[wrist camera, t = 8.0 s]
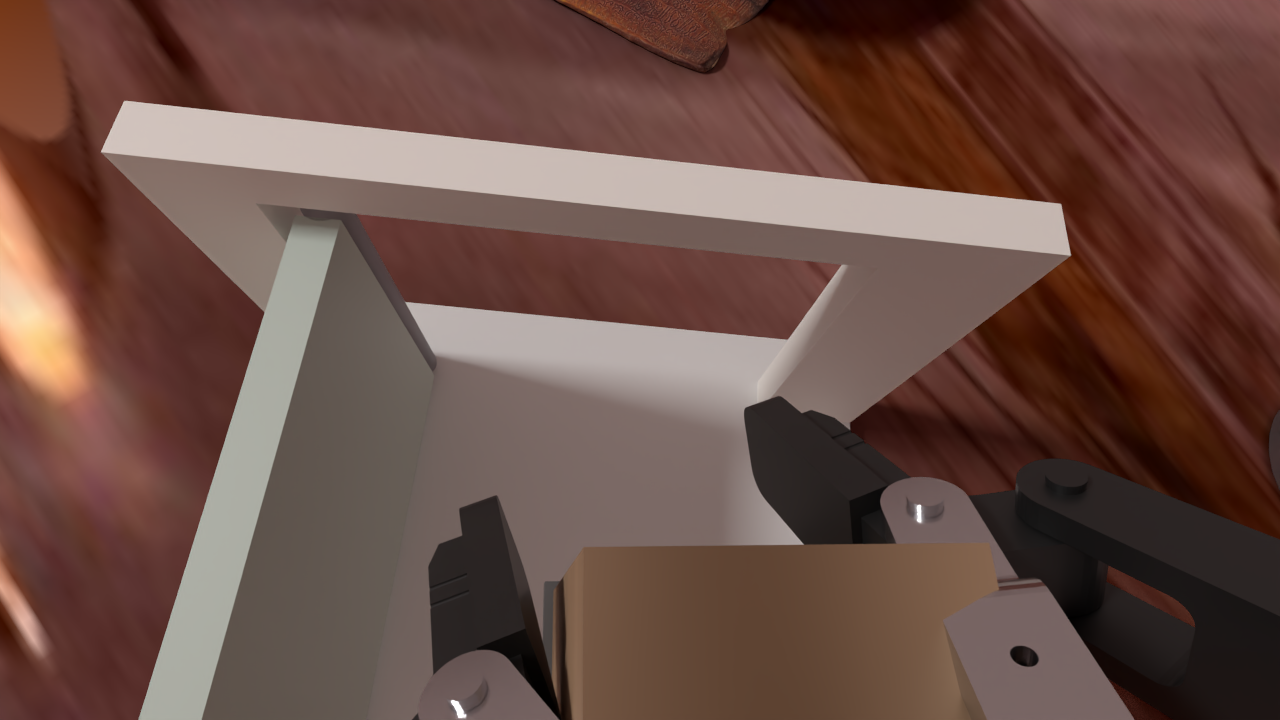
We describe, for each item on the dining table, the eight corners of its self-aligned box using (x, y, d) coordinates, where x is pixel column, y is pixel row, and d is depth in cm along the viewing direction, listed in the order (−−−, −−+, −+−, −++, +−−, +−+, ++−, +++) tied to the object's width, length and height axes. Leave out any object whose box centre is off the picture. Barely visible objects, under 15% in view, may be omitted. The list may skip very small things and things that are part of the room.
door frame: (840, 352, 32) (1047, 132, 18) (857, 773, 26) (1204, 964, 11) (353, 304, 31) (156, 30, 17) (244, 731, 25) (-231, 880, 10)
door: (361, 744, 24) (164, 852, 13) (291, 740, 24) (32, 844, 13) (439, 351, 29) (350, 185, 18) (383, 346, 29) (260, 175, 18)
